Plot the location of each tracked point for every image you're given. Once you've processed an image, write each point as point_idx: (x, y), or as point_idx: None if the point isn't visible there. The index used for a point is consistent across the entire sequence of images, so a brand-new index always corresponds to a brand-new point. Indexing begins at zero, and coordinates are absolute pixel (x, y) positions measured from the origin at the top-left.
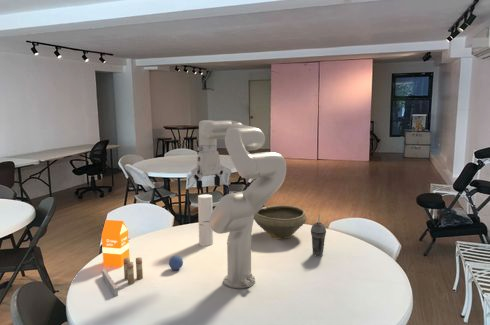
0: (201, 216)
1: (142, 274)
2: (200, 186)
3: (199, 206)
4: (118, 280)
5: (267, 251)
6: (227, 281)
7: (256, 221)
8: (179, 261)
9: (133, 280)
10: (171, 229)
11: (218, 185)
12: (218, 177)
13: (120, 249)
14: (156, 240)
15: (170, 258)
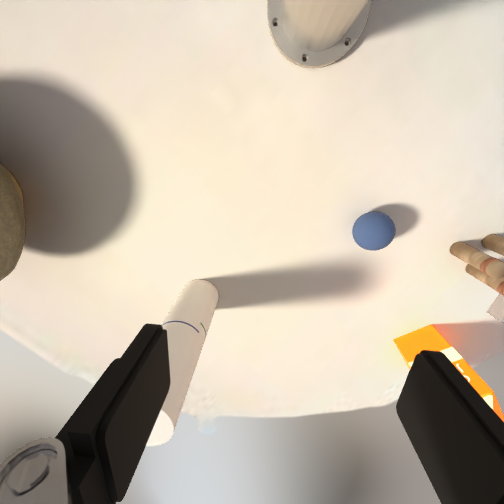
0: (196, 350)
1: (460, 246)
2: (463, 389)
3: (187, 388)
4: None
5: (98, 125)
6: (357, 21)
7: (21, 240)
8: (379, 216)
9: (495, 237)
10: (207, 406)
11: (162, 332)
12: (85, 450)
13: (460, 356)
14: (274, 382)
15: (386, 245)
